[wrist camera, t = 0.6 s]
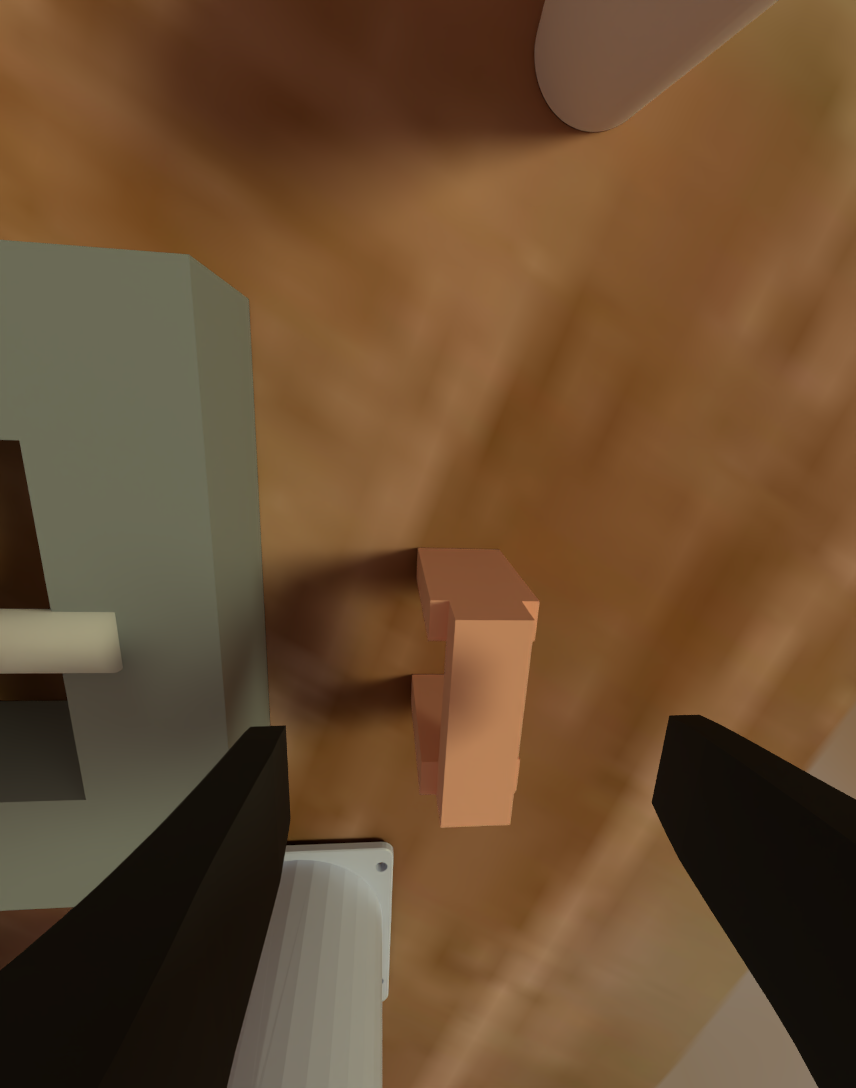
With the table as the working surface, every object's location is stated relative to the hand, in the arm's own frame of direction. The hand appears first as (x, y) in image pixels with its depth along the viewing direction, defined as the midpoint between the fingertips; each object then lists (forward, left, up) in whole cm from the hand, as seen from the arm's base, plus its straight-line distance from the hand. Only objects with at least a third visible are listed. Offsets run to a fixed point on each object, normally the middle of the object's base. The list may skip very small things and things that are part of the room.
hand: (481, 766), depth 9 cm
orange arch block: (-2, -1, -9) cm, 10 cm away
